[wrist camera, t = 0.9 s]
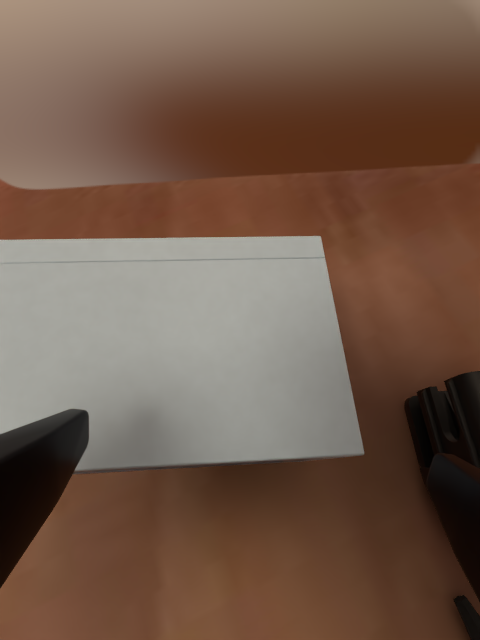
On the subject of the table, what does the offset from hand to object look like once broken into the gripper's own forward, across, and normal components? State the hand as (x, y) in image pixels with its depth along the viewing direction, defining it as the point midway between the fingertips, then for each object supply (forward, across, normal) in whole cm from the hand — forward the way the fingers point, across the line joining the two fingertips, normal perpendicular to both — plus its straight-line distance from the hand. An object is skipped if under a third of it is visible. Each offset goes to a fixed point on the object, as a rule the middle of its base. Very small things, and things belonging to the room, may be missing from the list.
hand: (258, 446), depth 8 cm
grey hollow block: (+11, +4, +4) cm, 12 cm away
